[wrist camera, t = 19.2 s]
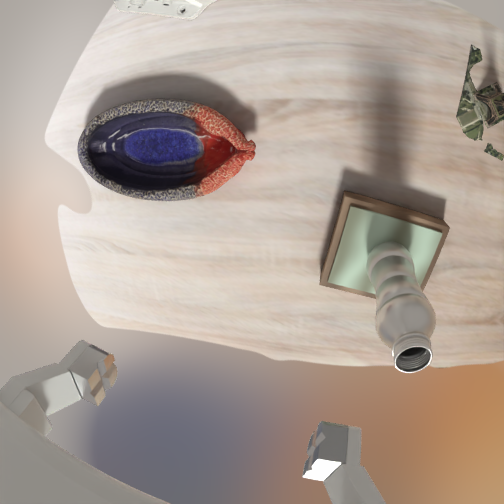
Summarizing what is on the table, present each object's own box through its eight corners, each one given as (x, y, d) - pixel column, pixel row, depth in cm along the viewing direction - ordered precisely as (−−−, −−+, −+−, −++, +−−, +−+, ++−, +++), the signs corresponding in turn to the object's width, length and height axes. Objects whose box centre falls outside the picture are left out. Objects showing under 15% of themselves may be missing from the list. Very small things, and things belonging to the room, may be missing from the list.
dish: (90, 103, 45) (71, 106, 41) (264, 101, 40) (256, 100, 35) (94, 186, 52) (76, 194, 48) (256, 205, 47) (248, 217, 43)
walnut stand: (320, 274, 49) (319, 286, 46) (344, 190, 42) (345, 197, 39) (411, 297, 47) (415, 309, 44) (443, 220, 40) (450, 228, 37)
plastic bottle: (370, 231, 41) (392, 327, 23) (415, 241, 39) (459, 337, 22) (359, 272, 44) (367, 378, 26) (402, 281, 42) (429, 385, 25)
